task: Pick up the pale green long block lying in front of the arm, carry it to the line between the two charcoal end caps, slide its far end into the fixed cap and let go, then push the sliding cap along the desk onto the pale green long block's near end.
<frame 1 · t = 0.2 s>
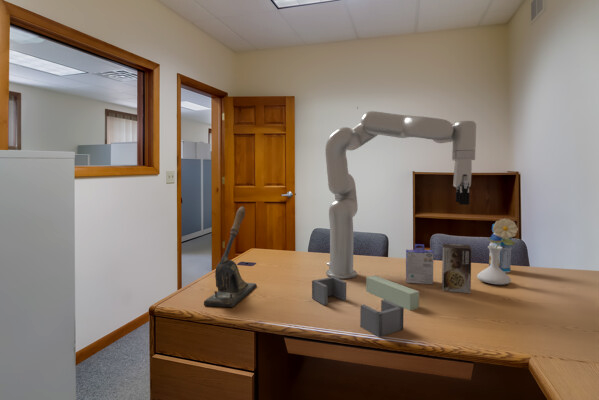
hand: (462, 203, 126), 31 cm above the table, tool pointing down, fingers open, 9 cm apart
coffee box: (455, 290, 125), on the table
ink cartridge box: (419, 282, 134), on the table
cap fixed: (381, 327, 94), on the table
pale green long block: (390, 299, 116), on the table
embossing press: (232, 295, 120), on the table
beverage bottle: (499, 271, 149), on the table
cap sliding: (329, 290, 115), point 3 cm above the table, slide at 0.0 cm
flower in vase: (495, 283, 133), on the table
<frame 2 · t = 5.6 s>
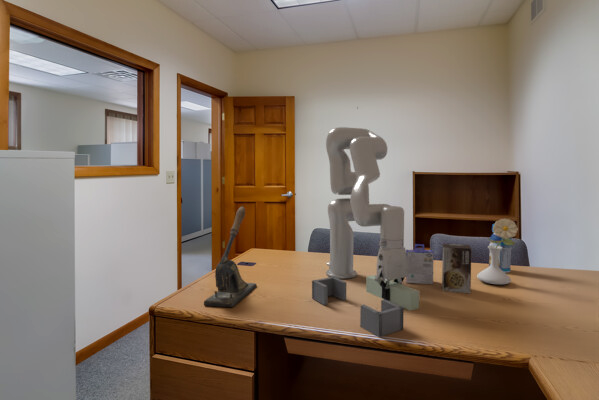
hand: (391, 297, 116), 1 cm above the table, tool pointing down, fingers closed on pale green long block, 4 cm apart
pale green long block: (390, 299, 116), on the table, touching gripper
everything else where it was.
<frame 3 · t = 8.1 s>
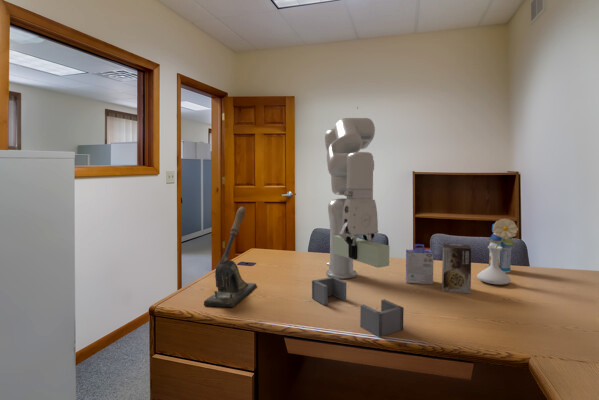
hand: (359, 256, 102), 17 cm above the table, tool pointing down, fingers closed on pale green long block, 4 cm apart
pale green long block: (359, 258, 102), point 17 cm above the table, touching gripper
everything else where it was.
when the fingers open (1 cm above the table, at t = 10.8 s): pale green long block stays where it is, on the table.
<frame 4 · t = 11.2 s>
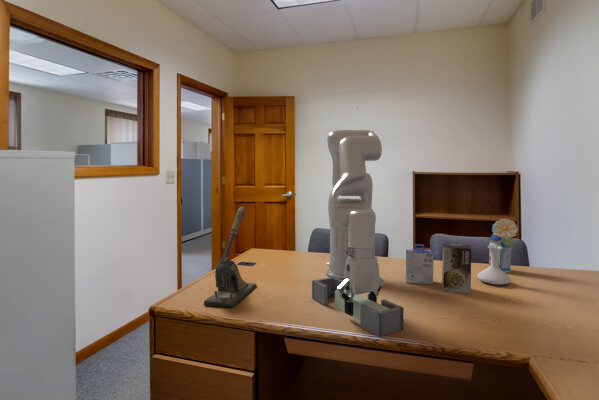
hand: (360, 311, 101), 2 cm above the table, tool pointing down, fingers open, 8 cm apart
pale green long block: (360, 317, 102), on the table
everything else where it was.
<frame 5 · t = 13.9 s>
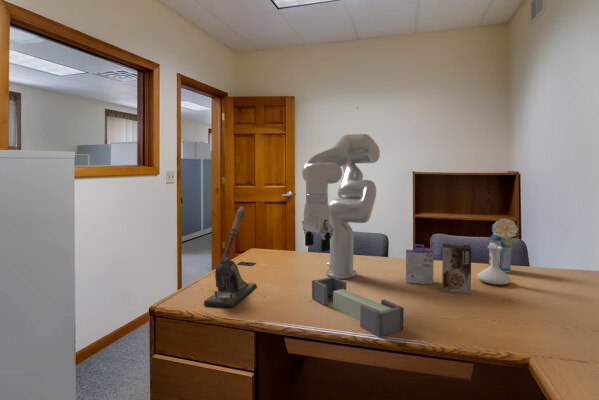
hand: (317, 247, 121), 16 cm above the table, tool pointing down, fingers open, 9 cm apart
nothing on the table moved.
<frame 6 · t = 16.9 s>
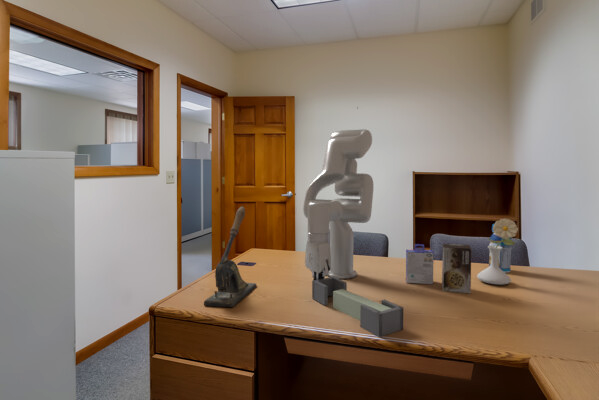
hand: (318, 289, 121), 2 cm above the table, tool pointing down, fingers closed
cap sliding: (329, 290, 115), point 3 cm above the table, slide at 0.1 cm, touching gripper
everything else where it was.
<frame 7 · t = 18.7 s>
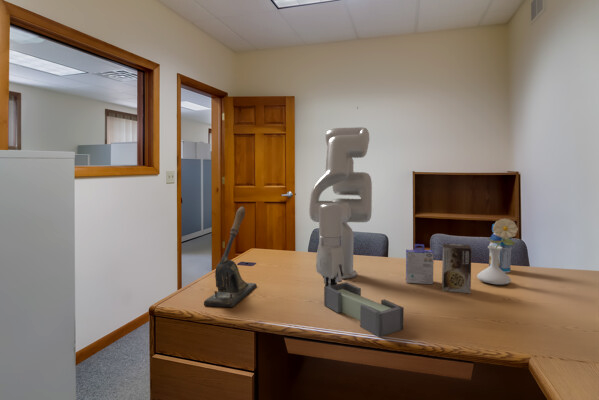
hand: (330, 295, 115), 2 cm above the table, tool pointing down, fingers closed
cap sliding: (342, 296, 109), point 3 cm above the table, slide at 7.2 cm, touching gripper
everything else where it was.
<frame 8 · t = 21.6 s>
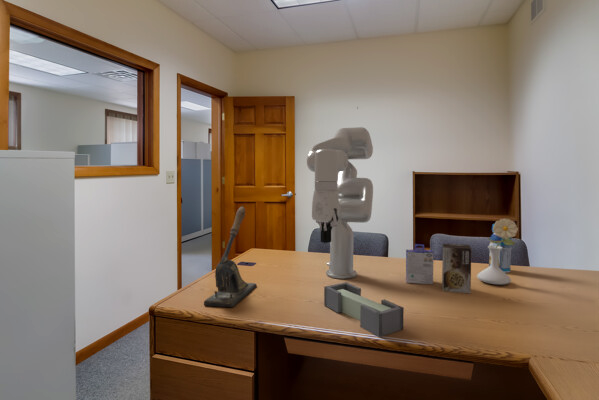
hand: (325, 242, 116), 19 cm above the table, tool pointing down, fingers closed
cap sliding: (342, 296, 109), point 3 cm above the table, slide at 7.2 cm
everything else where it was.
at the end: cap sliding slide at 7.2 cm; pale green long block 0.1 cm from the target spot, on the table; pale green long block tilted 0° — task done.
